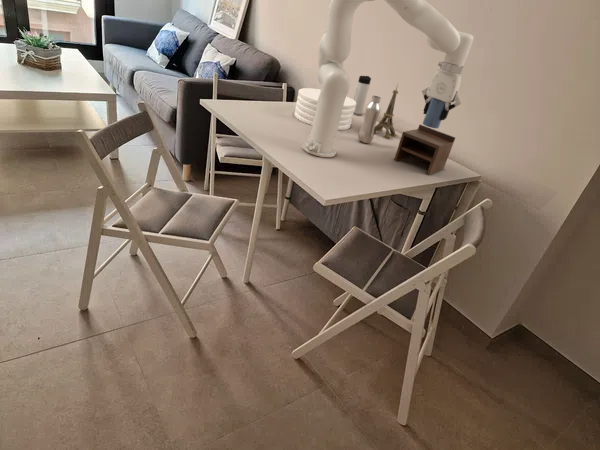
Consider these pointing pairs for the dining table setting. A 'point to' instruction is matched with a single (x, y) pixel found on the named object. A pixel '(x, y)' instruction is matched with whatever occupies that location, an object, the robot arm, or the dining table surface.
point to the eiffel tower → (388, 115)
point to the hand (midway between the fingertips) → (433, 116)
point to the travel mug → (361, 94)
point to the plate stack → (309, 102)
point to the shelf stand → (426, 147)
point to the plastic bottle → (370, 120)
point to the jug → (434, 113)
